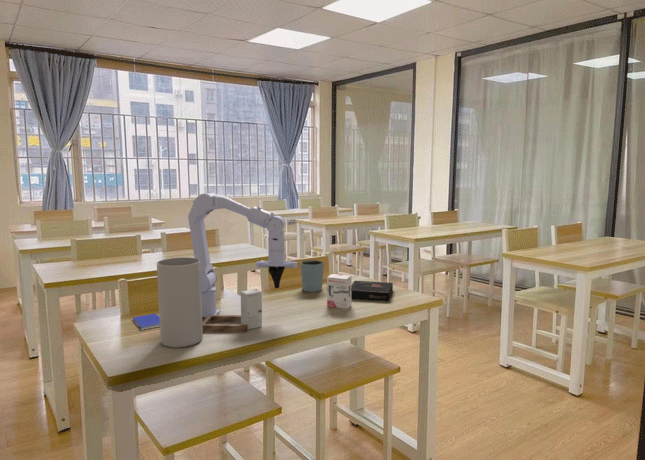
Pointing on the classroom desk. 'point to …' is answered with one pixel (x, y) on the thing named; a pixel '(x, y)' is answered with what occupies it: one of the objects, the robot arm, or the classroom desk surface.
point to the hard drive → (147, 321)
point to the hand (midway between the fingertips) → (277, 287)
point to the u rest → (224, 327)
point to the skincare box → (251, 308)
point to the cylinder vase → (180, 301)
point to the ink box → (339, 291)
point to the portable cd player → (371, 291)
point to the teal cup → (312, 275)
